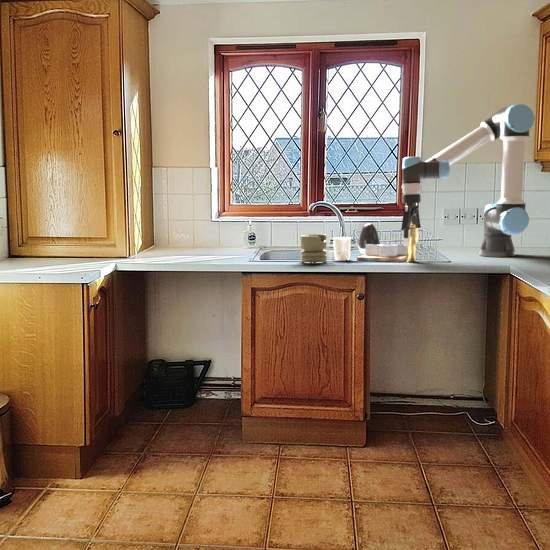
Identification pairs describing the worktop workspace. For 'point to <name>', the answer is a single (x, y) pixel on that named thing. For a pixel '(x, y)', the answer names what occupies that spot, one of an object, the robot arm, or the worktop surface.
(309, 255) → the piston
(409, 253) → the pin
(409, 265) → the worktop surface
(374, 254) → the white piece
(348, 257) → the white cup
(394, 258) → the mount board
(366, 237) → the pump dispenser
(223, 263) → the worktop surface
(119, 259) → the worktop surface
